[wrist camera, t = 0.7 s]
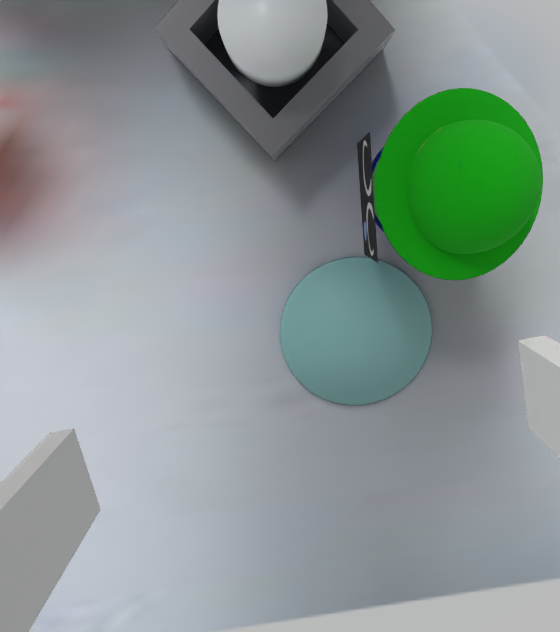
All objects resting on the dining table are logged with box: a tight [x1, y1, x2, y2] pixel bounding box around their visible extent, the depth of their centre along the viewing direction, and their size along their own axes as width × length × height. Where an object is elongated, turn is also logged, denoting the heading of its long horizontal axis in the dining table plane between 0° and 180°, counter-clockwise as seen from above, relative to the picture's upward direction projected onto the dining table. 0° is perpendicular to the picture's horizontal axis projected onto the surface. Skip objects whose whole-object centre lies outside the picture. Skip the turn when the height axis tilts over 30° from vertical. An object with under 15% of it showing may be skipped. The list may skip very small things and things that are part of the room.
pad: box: [280, 257, 432, 405], centre depth 38 cm, size 11×11×1 cm
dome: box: [217, 0, 328, 87], centre depth 30 cm, size 6×6×3 cm
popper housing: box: [154, 0, 395, 160], centre depth 33 cm, size 10×10×4 cm
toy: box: [357, 88, 543, 280], centre depth 29 cm, size 9×9×15 cm
